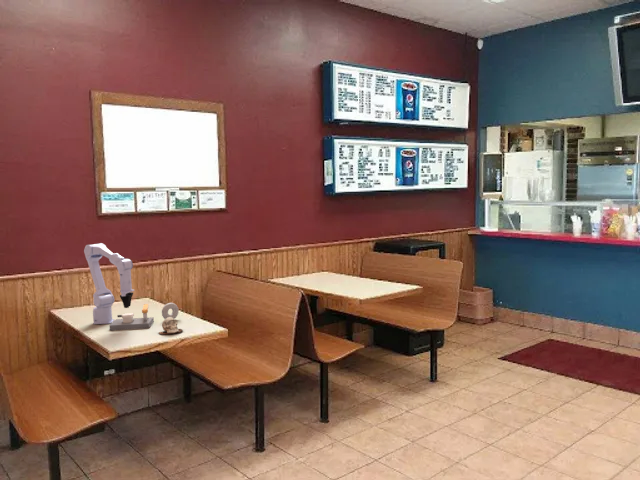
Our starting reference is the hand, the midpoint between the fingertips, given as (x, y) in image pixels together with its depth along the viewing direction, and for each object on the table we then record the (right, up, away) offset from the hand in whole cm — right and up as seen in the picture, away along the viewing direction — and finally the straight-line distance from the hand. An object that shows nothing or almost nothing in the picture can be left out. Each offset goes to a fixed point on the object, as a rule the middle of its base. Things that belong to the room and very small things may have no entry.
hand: (127, 307), depth 294 cm
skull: (+27, -12, -14) cm, 33 cm away
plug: (-1, -10, +1) cm, 11 cm away
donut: (+20, -9, +11) cm, 25 cm away
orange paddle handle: (+7, -2, +8) cm, 11 cm away
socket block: (+2, -10, +1) cm, 11 cm away
